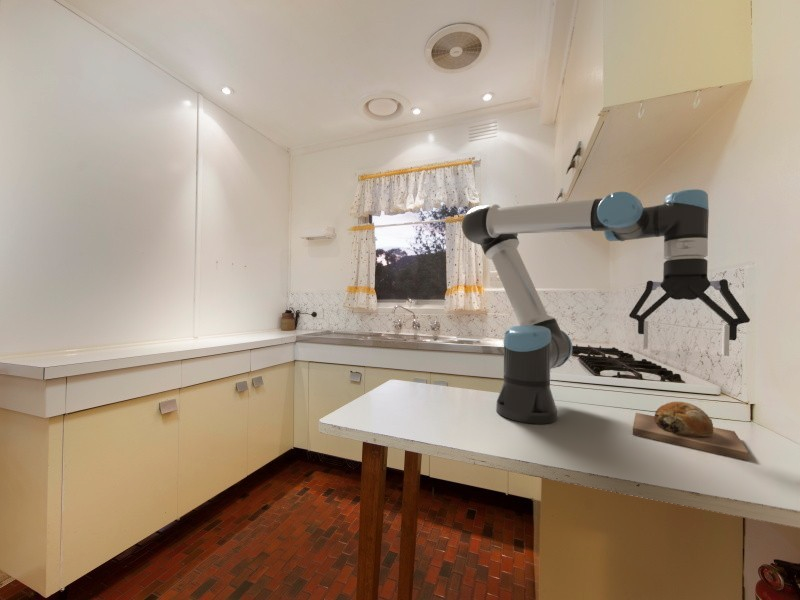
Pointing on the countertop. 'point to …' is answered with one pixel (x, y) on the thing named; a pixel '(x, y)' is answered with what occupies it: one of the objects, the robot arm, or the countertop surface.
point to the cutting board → (692, 438)
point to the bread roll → (684, 419)
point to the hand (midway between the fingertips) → (683, 351)
